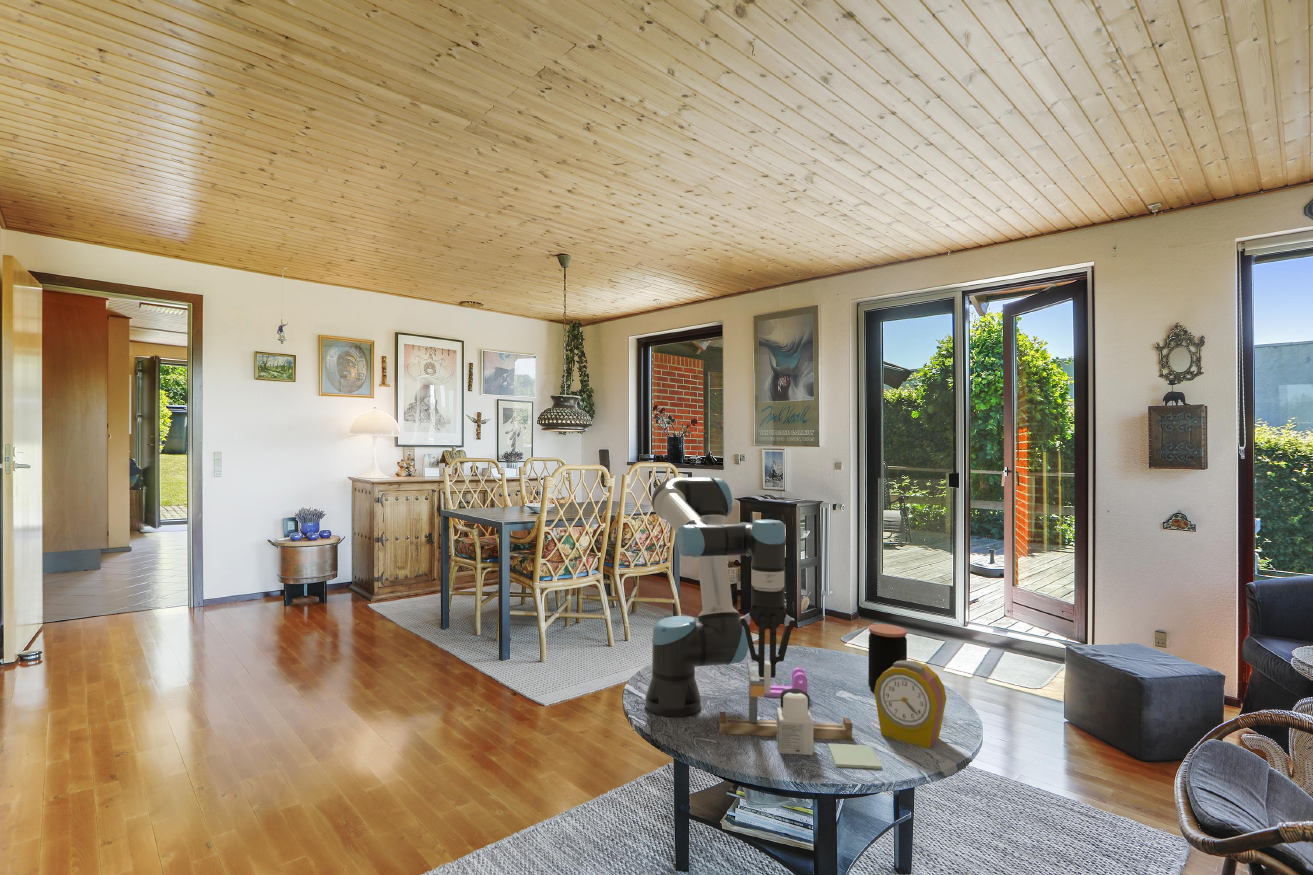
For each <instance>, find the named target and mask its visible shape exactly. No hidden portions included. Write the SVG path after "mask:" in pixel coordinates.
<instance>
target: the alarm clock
mask: <svg viewBox="0 0 1313 875" xmlns="http://www.w3.org/2000/svg"><path fill="white" fill-rule="evenodd" d="M938 675H939V674H937V673H936V672H935V671H934V670H932V669H931V668H930V667H929V666H927V665H926V664H923V663H921V662H919V661H916V660H907V661H906V660H901V661H896V662H895V663H894V664H893V666H892V667H891V668H889V669H888V670H886V671H885V672H883V673H882V675H881V676H880V677H879V678H878V680H877V681H876V686H875V690H874V692H873V693H874V694H873V695H874V697H875V698H874V699H875V704H876V705H875V706H876V710H877V716H878V722H879V729H880V735H882V736H886V737H888V738H891V739H895V740H898V741H899V740H900V741H902V742H905V743H908V744H912V745H914V746H915V745H916V746H918V745H919V747H923V748H925V747H926V749H928V748H929V749H930V748H931V747H932V746H933V745H934V744H935V743H936V742H937V741H938V740H939V738H940V733H941V728H942V723H943V717H944V713H945V708H946V703H947V702H946V701H947V695H946V694H947V693H946V689H945V685H944V683H943V682H942V680H941V678H940V677H939V676H938ZM936 740H937V741H936ZM935 741H936V742H935ZM934 742H935V743H934ZM933 743H934V744H933Z"/></svg>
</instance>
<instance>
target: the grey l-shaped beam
mask: <svg viewBox="0 0 1313 875" xmlns="http://www.w3.org/2000/svg"><path fill="white" fill-rule="evenodd" d="M746 662H747V666H746V667H747V673H748V719H749V723H757V720H758V701H759V700H758V699H759V697H762V698H764V697H765V696H764V678H763V677H759V673H758V662H757V661H753V660H752V659H747V661H746Z"/></svg>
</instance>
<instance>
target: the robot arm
mask: <svg viewBox="0 0 1313 875" xmlns="http://www.w3.org/2000/svg"><path fill="white" fill-rule="evenodd" d="M651 506H652V509H653V510H654V512H655V514H656V516H658V517H659V518H660V519H662V520H665V521H666V522H667V523H668V525H670V527H671V528H672V529H673V530H674V531H675V533H676V546H677V547H676V548H677V550H678V553H679V554H680V556H683V557H692V558H697V566H698V567H697V568H698V575H699V584H700V585H699V586H700V596H701V605H702V606H701V607H702V610H701V612H700V613H699V614H698V616H697V619H698V621H696V619H695V618H694V617H692V616H688V615H674V616H669V617H665V618H661V619H660V620H659V621H657V622H656V623H655V624H654V626H653V630H652V638H651V642H652V643H651V644H652V652H651V653H652V654H651V655H652V657H651V658H652V659H651V660H652V666H651V667H652V672H651V673H652V674H651V679H650V682H649V685H648V688H647V691H646V695H645V699H644V701H645V703H644V704H645V708H646V710H648V711H649V712H651V713H653V714H655V715H658V716H663V717H686V716H690V715H694V714H696V713H697V712H699V711H700V709H701V706H702V702H701V701H702V700H701V699H702V697H701V694H700V691H699V688H698V685H697V681H696V678H695V673H696V670H695V669H696V667H706V666H721V665H725V666H729V665H732V664H739V663H742V662H743V661H744V660H745V658H746V657H747V655H748V652H749V654H750V660H753V661H757V662H758V673H759V677H763V678H764V693H771V683H772V681H771V680H772V678H776V672H777V670H776V669H777V667H776V664H777V663H779V662H784V660H785V657H786V653H787V649H788V645H789V641H790V636H791V633H792V630H793V629H794V627H795V626H796V624H797V622H796V620H795V618H794V617H791V616H789V615H788V613H787V612H786V608H785V590H784V589H783V588H784V587H785V567H786V566H785V563H786V560H785V559H786V539H787V537H786V528H785V524H784V522H783V521H781V520H778V519H777V520H775V519H768V518H767V519H755V520H753V522H744V521H743V522H740V523H736V524H735V523H734V524H731V523H730V524H726V523H727V521H728V516H730V515H731V513H732V510H733V496H732V492H731V489H730V486H729V484H728V483H727V482H726V481H725V480H724V479H722V478H721V477H711V476H709V477H671V478H669V479H666V480H664V481H662V482H661V483H660V484H659V485H658V486H657V487H656V488H655V489H654V491H653V493H652V496H651ZM729 556H731V557H732V556H750V557H751V580H750V581H751V582H750V583H751V586H752V588H751V591H750V592H751V594H750V598H751V600H750V601H751V602H750V608H749V610H748V613H747V614H745V615H741V616H740V613H739V611H738V610H737V609H735V607H734V606H733V598H732V588H731V581H730V573H729V565H728V557H729ZM751 620H752V622H754V624H755V625H756V628H757V627H758V648H757V649H758V653H756V650H755V646H754V645H755V644H754V641H753V637H752V636H753V635H752V632H751V627H750V625H751ZM782 622H783V623H784V629H783V632H782V635H781V640H780V644H779V647H778V652H777V629H778V628H779V627H780V625H781V624H782ZM766 630H769V660H765V659H766V657H765V654H766V653H765V651H766V648H765V646H766Z"/></svg>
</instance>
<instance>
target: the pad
mask: <svg viewBox="0 0 1313 875" xmlns="http://www.w3.org/2000/svg"><path fill="white" fill-rule="evenodd" d="M827 747H828V749H829V752H830V755H831V758H832V760H833V762H834V765H835V768H836V767H837V768H851V769H852V768H856V769H875V770H883V765H882V763H881V761H880V759H879V757H878V756H877V754H876V753H875V752H876V751H875V750H874V749H873V746H872V745H869V744H868V745H865V744H849V743H848V744H845V743H844V744H843V743H827Z"/></svg>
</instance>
